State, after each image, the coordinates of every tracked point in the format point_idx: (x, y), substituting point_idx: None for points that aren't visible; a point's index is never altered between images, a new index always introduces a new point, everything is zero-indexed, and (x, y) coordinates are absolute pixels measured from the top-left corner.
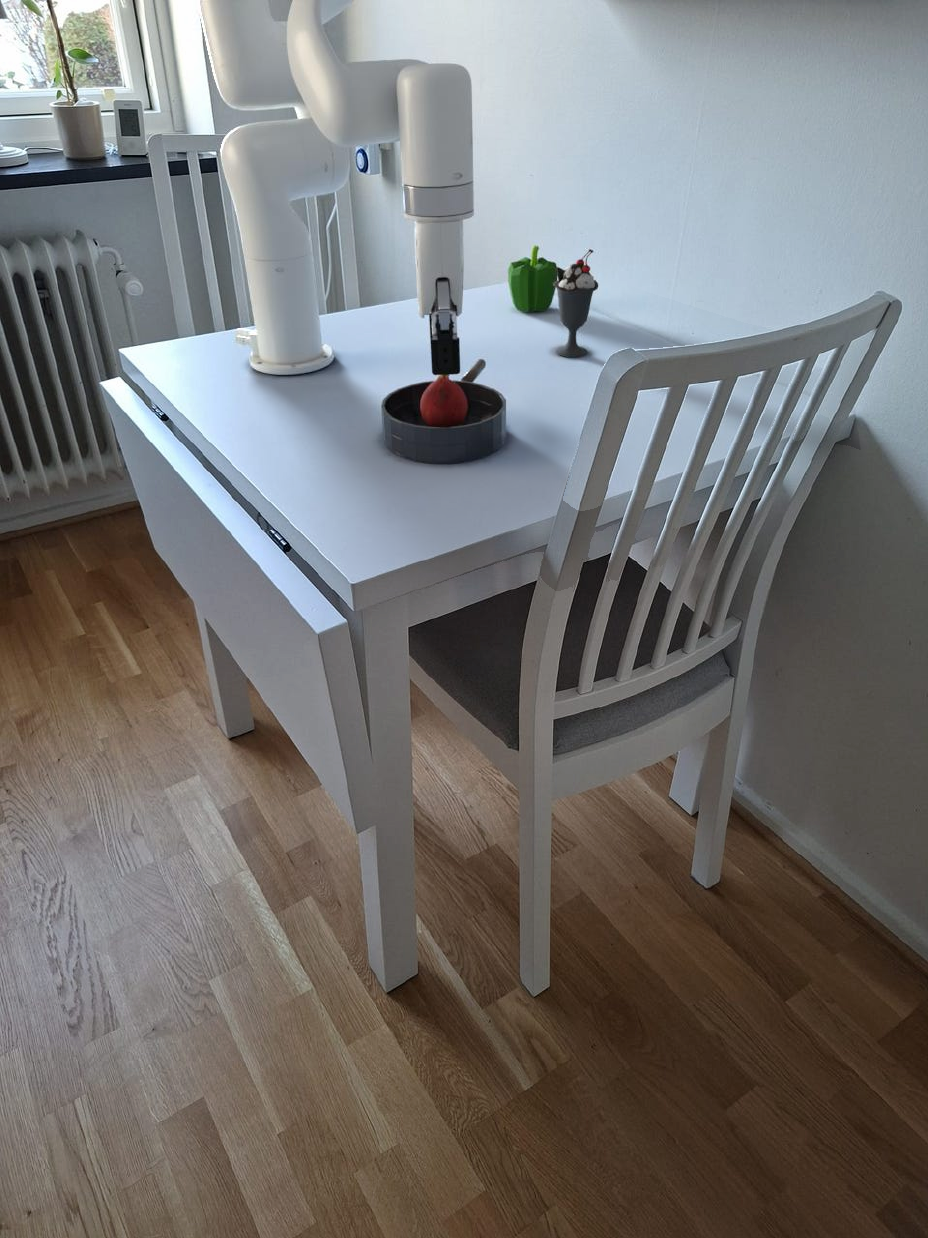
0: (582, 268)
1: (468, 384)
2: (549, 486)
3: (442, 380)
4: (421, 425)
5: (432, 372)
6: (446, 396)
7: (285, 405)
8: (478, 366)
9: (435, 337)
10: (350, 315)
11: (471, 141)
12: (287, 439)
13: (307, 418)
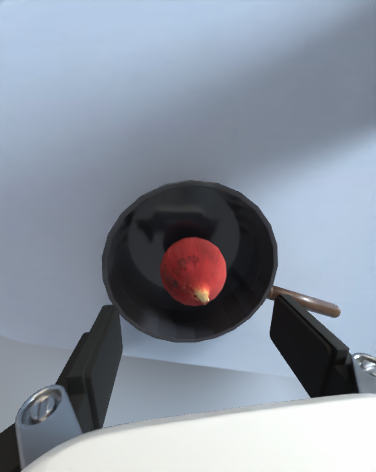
0: None
1: (259, 300)
2: (70, 344)
3: (190, 291)
4: (219, 227)
5: (103, 306)
6: (169, 286)
7: (333, 13)
8: (316, 311)
9: (26, 412)
10: None
11: None
12: (203, 25)
13: (275, 59)
